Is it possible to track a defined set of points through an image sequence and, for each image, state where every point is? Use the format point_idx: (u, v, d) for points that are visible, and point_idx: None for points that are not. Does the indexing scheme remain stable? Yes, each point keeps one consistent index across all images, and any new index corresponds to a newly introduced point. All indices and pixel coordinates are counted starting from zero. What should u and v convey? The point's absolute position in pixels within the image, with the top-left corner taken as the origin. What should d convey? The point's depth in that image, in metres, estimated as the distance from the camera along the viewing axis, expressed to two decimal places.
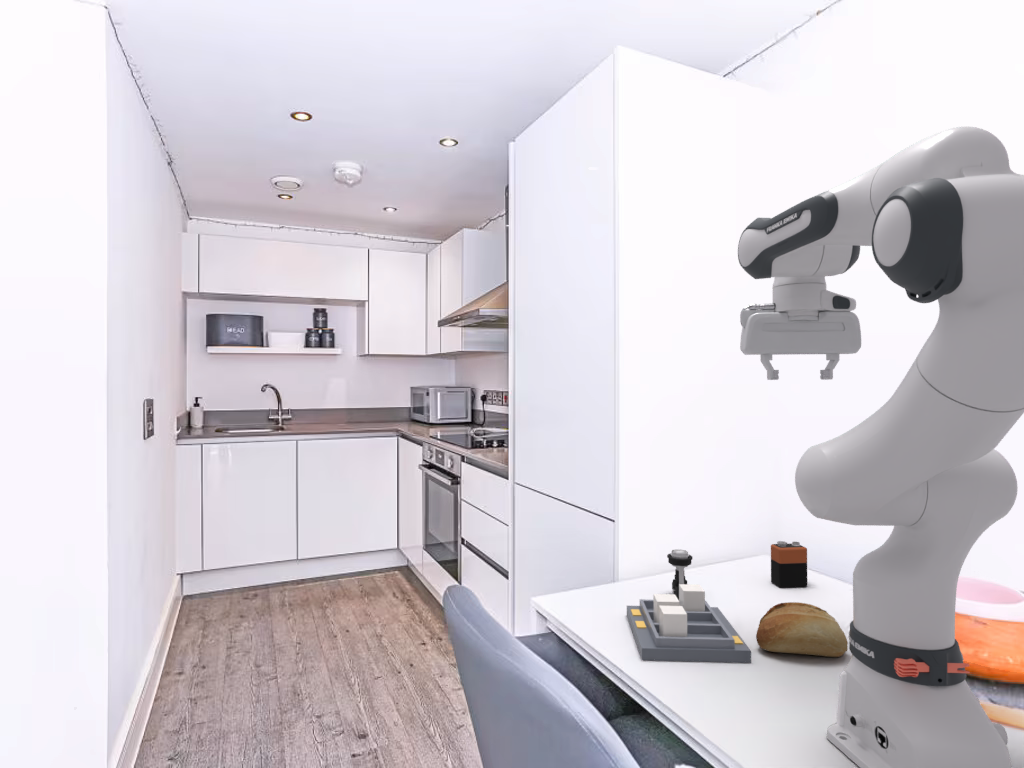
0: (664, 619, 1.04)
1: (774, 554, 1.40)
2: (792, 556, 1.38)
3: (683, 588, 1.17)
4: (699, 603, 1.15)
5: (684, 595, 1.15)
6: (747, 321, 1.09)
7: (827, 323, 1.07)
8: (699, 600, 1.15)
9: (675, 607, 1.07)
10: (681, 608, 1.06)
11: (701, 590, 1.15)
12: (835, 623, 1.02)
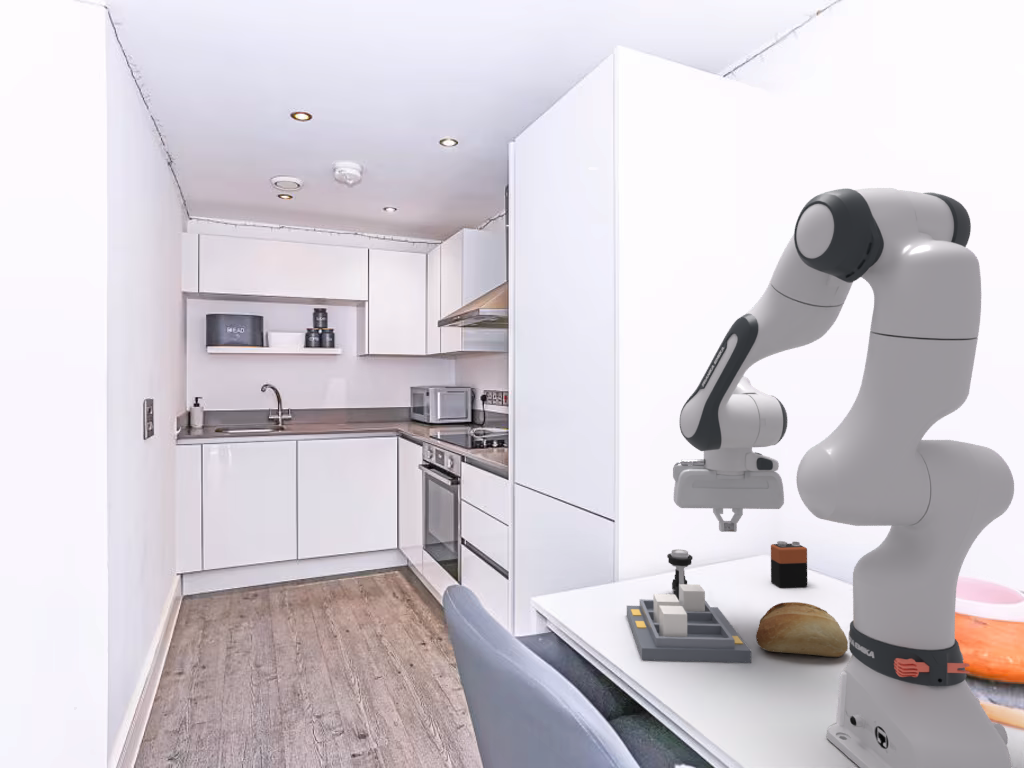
0: (664, 619, 1.04)
1: (774, 554, 1.40)
2: (792, 556, 1.38)
3: (683, 588, 1.17)
4: (699, 603, 1.15)
5: (684, 595, 1.15)
6: (679, 477, 1.17)
7: (752, 480, 1.15)
8: (699, 600, 1.15)
9: (675, 607, 1.07)
10: (681, 608, 1.06)
11: (701, 590, 1.15)
12: (835, 623, 1.02)
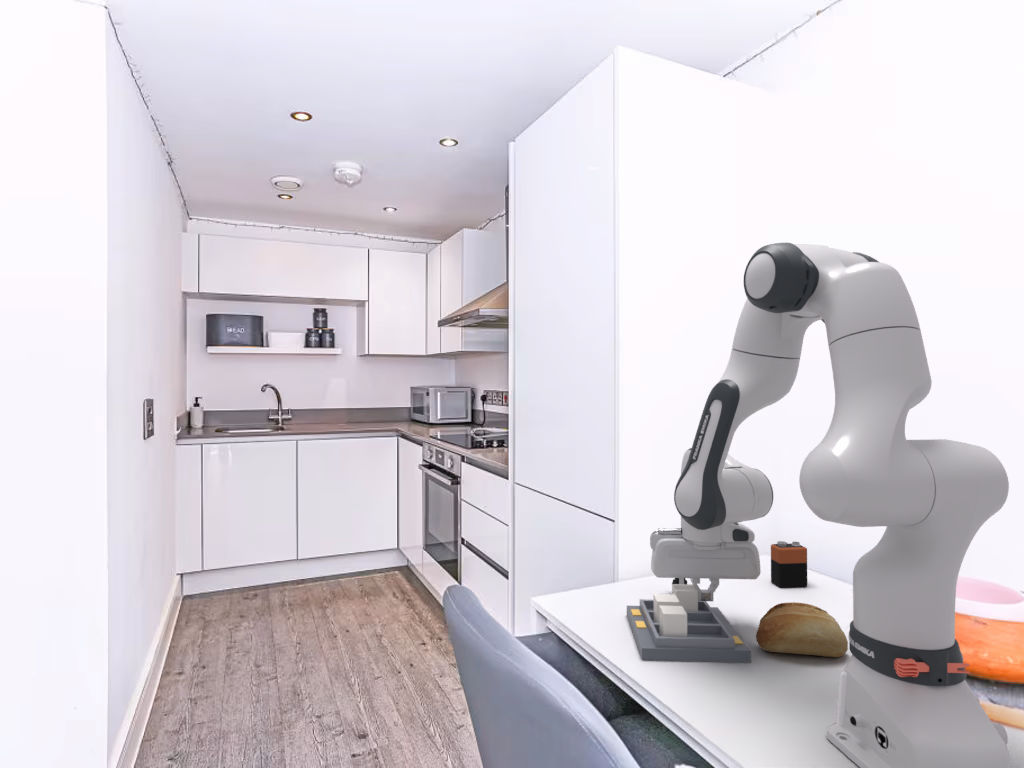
0: (664, 619, 1.04)
1: (774, 554, 1.40)
2: (793, 556, 1.38)
3: (676, 588, 1.17)
4: (692, 603, 1.15)
5: (677, 595, 1.15)
6: (655, 546, 1.17)
7: (729, 551, 1.15)
8: (692, 600, 1.15)
9: (675, 607, 1.07)
10: (681, 608, 1.06)
11: (694, 590, 1.16)
12: (835, 623, 1.02)
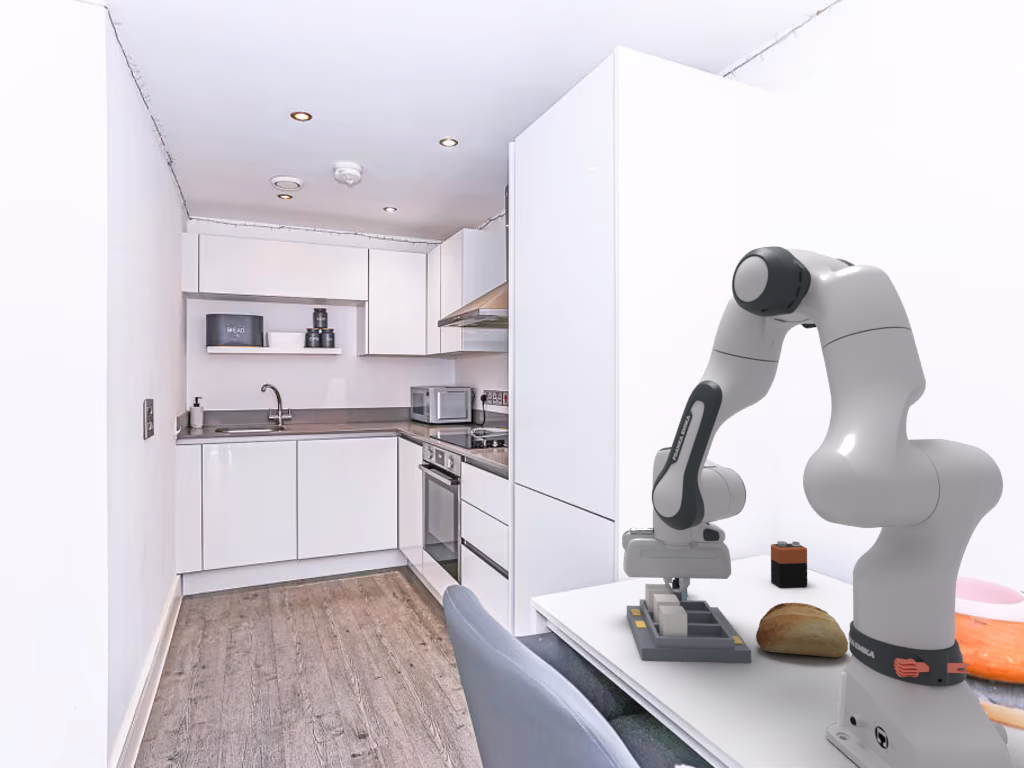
0: (664, 619, 1.04)
1: (774, 554, 1.40)
2: (793, 556, 1.38)
3: (649, 587, 1.17)
4: None
5: (649, 594, 1.16)
6: (627, 545, 1.17)
7: (700, 550, 1.16)
8: None
9: (675, 607, 1.07)
10: (681, 608, 1.06)
11: (666, 589, 1.16)
12: (835, 624, 1.02)
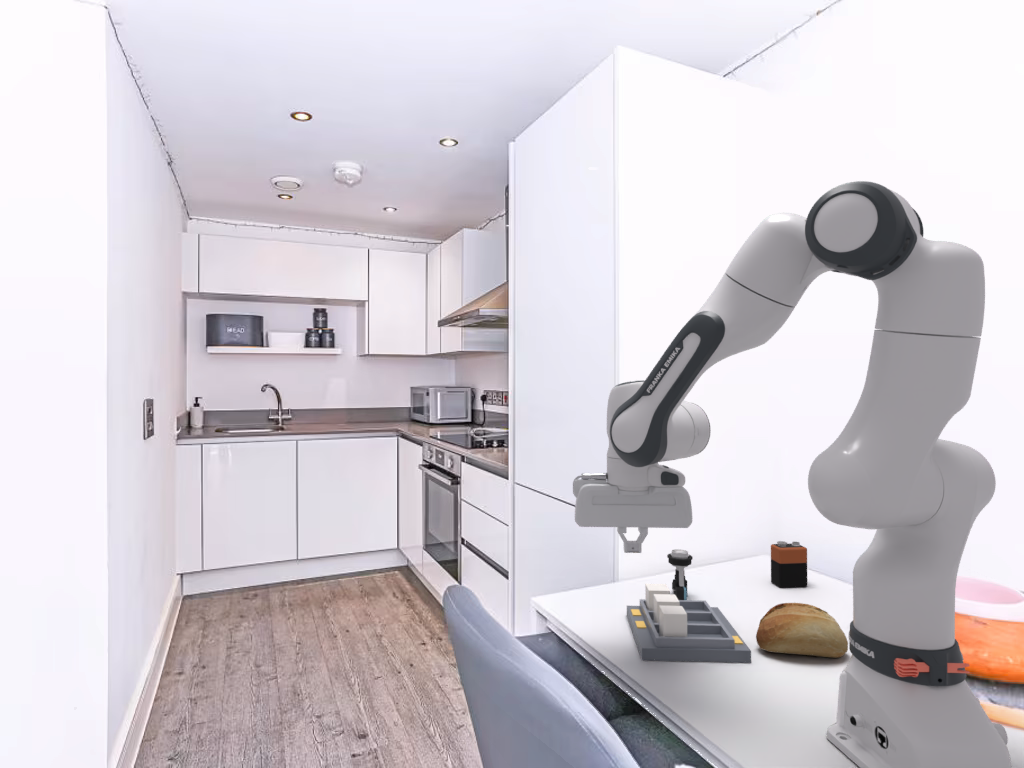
0: (664, 619, 1.04)
1: (774, 554, 1.40)
2: (793, 556, 1.38)
3: (649, 587, 1.17)
4: None
5: (649, 594, 1.16)
6: (578, 492, 1.06)
7: (658, 497, 1.04)
8: None
9: (675, 607, 1.07)
10: (681, 608, 1.06)
11: (666, 589, 1.16)
12: (835, 624, 1.02)
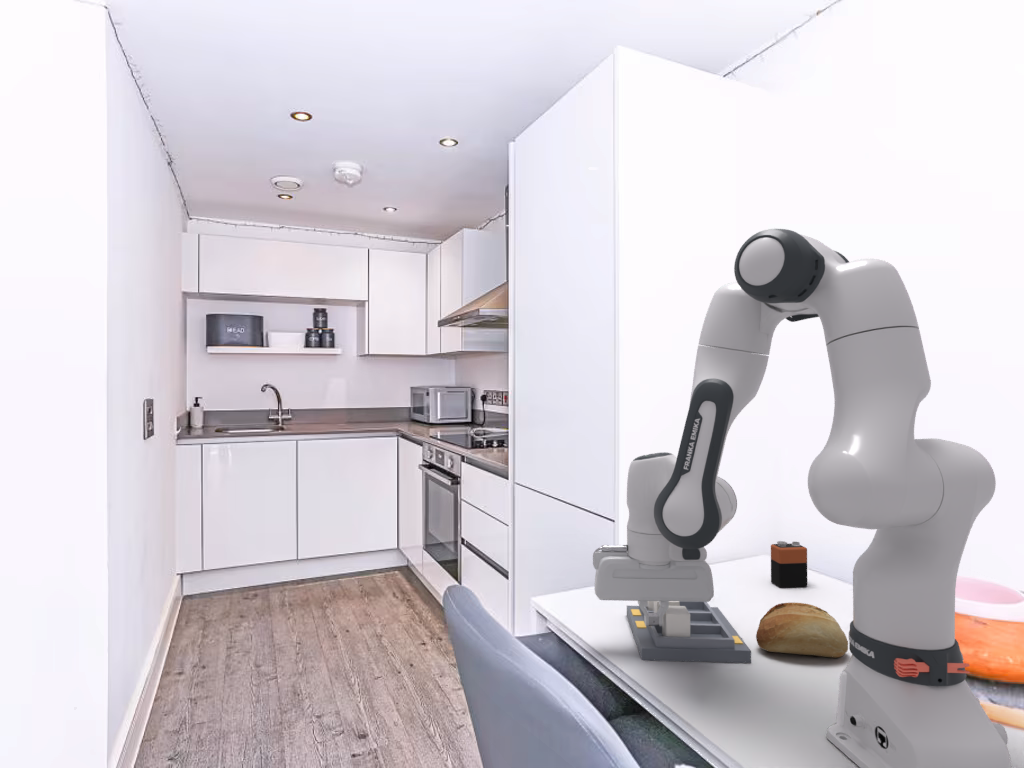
0: (667, 619, 1.03)
1: (774, 554, 1.40)
2: (793, 556, 1.38)
3: None
4: None
5: None
6: (598, 565, 1.05)
7: (679, 570, 1.04)
8: None
9: (678, 607, 1.07)
10: (684, 608, 1.06)
11: None
12: (835, 623, 1.02)
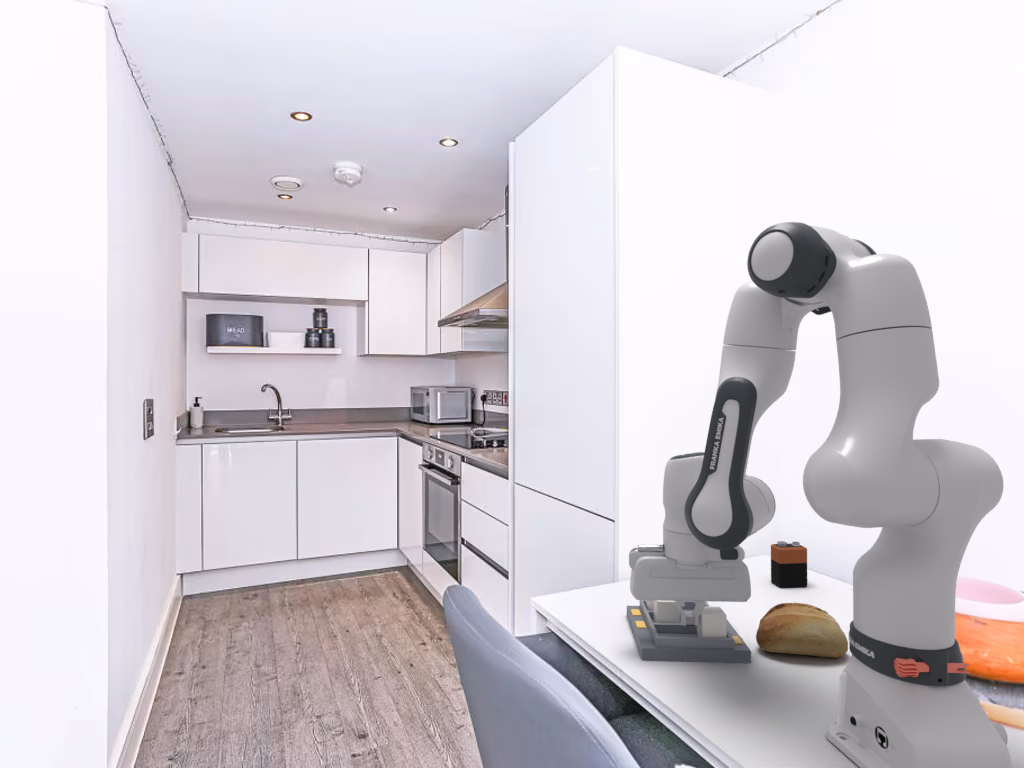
0: (703, 620, 1.03)
1: (774, 554, 1.40)
2: (793, 556, 1.38)
3: None
4: None
5: None
6: (635, 565, 1.05)
7: (716, 570, 1.03)
8: None
9: (713, 608, 1.06)
10: (719, 609, 1.06)
11: None
12: (835, 624, 1.02)
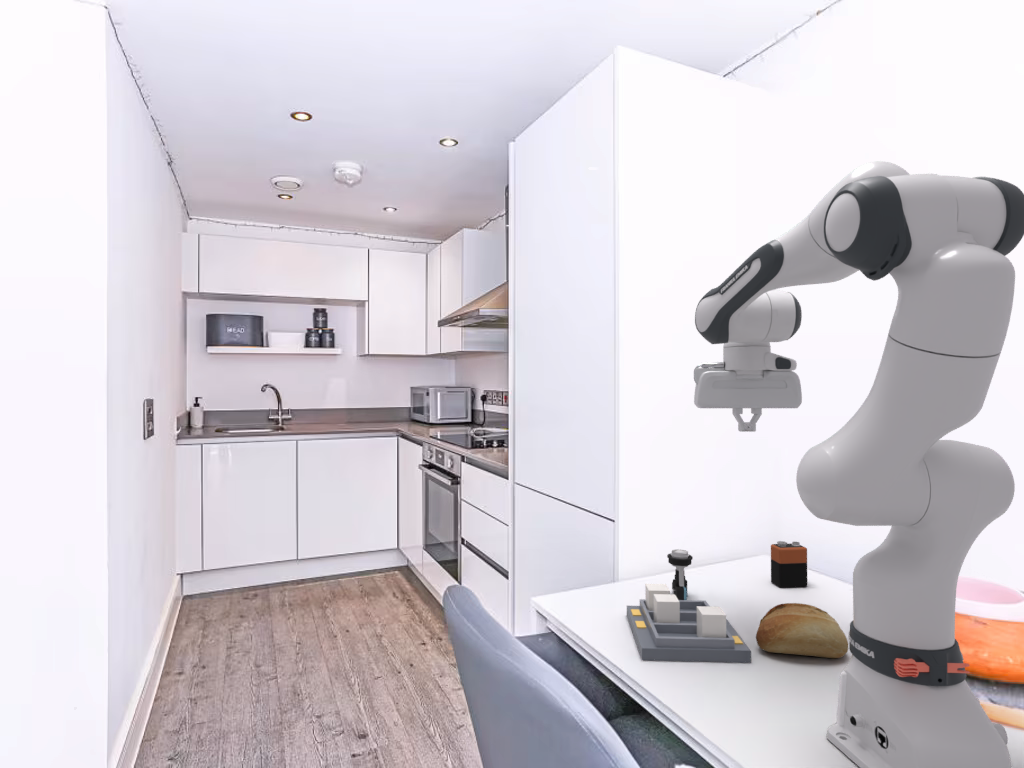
0: (703, 620, 1.03)
1: (774, 554, 1.40)
2: (793, 556, 1.38)
3: (649, 587, 1.17)
4: None
5: (649, 594, 1.16)
6: (699, 378, 1.20)
7: (771, 381, 1.19)
8: None
9: (713, 608, 1.06)
10: (719, 609, 1.06)
11: (666, 589, 1.16)
12: (835, 624, 1.02)
